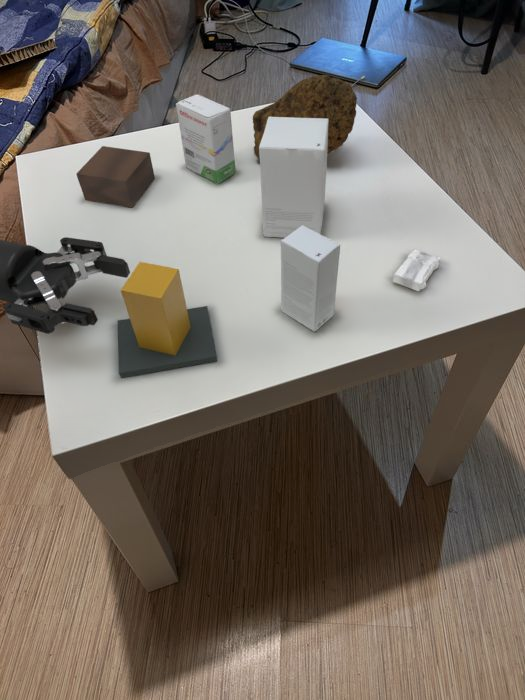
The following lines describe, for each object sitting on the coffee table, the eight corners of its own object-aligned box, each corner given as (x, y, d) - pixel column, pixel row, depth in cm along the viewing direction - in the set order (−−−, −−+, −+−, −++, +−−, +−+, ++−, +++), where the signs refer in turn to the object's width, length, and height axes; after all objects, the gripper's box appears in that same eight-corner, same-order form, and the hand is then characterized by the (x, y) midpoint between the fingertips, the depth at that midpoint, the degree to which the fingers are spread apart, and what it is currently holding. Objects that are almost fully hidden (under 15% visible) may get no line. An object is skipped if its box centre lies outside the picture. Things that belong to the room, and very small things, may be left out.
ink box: (237, 173, 93) (232, 107, 84) (217, 185, 90) (209, 118, 81) (204, 156, 96) (196, 91, 87) (184, 167, 94) (173, 102, 85)
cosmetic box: (334, 315, 70) (342, 244, 61) (314, 333, 68) (319, 262, 59) (300, 294, 73) (302, 223, 63) (279, 311, 71) (279, 240, 61)
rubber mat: (120, 378, 64) (118, 373, 64) (119, 325, 70) (117, 320, 69) (217, 361, 66) (216, 356, 65) (207, 310, 71) (207, 305, 70)
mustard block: (139, 347, 66) (120, 290, 58) (155, 319, 69) (139, 261, 61) (175, 355, 65) (161, 298, 57) (190, 327, 68) (178, 268, 60)
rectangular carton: (324, 206, 85) (331, 116, 74) (320, 241, 80) (326, 149, 68) (269, 203, 87) (267, 114, 75) (261, 237, 81) (257, 146, 69)
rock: (295, 176, 104) (384, 119, 92) (271, 191, 95) (366, 131, 83) (261, 114, 101) (348, 47, 89) (232, 124, 92) (325, 51, 80)
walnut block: (84, 200, 89) (75, 173, 85) (109, 171, 94) (102, 145, 90) (132, 208, 87) (125, 181, 83) (155, 178, 92) (149, 152, 88)
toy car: (388, 284, 73) (391, 272, 72) (411, 252, 77) (414, 240, 76) (420, 297, 72) (423, 284, 70) (441, 263, 76) (445, 251, 74)
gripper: (39, 257, 74) (143, 277, 70) (-24, 329, 65) (91, 356, 62) (19, 212, 68) (131, 232, 65) (-54, 284, 59) (71, 312, 56)
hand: (111, 292), depth 63 cm, fingers open, 8 cm apart
